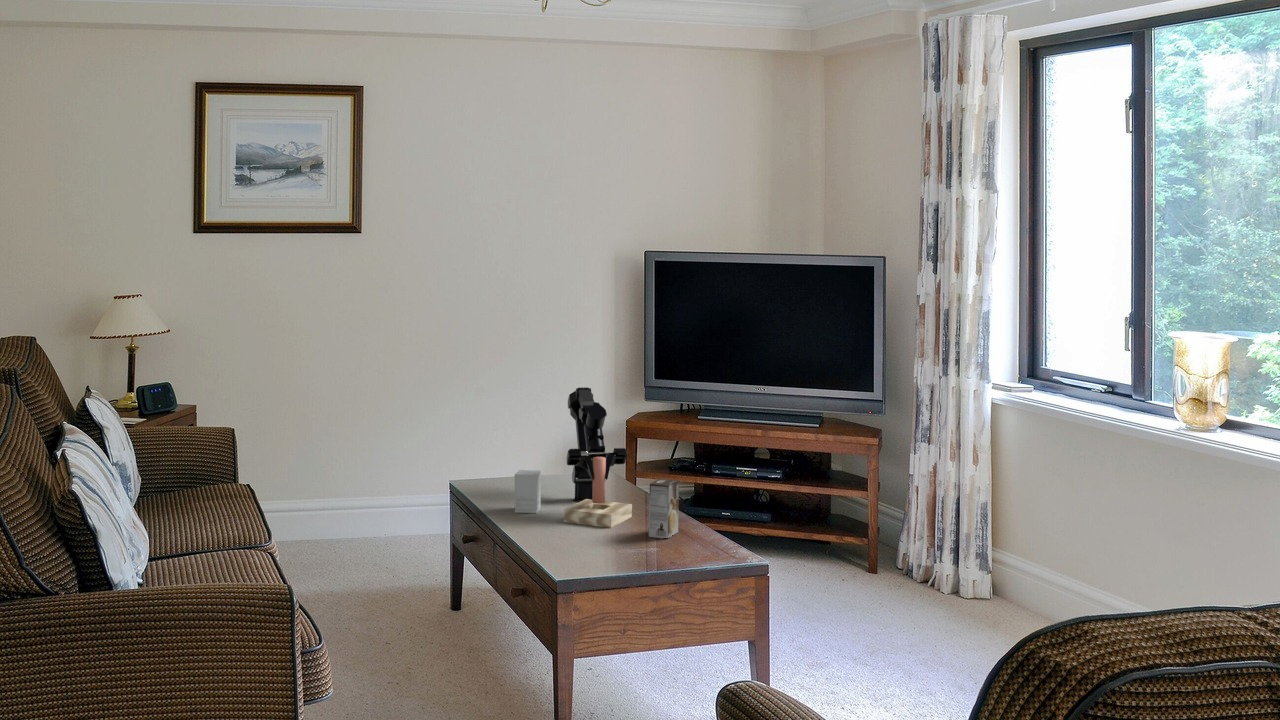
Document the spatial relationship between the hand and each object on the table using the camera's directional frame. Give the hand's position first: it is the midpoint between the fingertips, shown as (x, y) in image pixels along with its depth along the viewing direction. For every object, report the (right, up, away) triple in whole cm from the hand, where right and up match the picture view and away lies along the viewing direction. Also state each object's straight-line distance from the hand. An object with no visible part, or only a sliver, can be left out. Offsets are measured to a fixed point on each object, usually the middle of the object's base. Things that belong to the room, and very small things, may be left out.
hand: (599, 479), depth 339 cm
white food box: (+19, -15, -14) cm, 28 cm away
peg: (0, -7, +2) cm, 8 cm away
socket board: (-1, -13, +3) cm, 13 cm away
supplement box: (-24, -12, +12) cm, 29 cm away
